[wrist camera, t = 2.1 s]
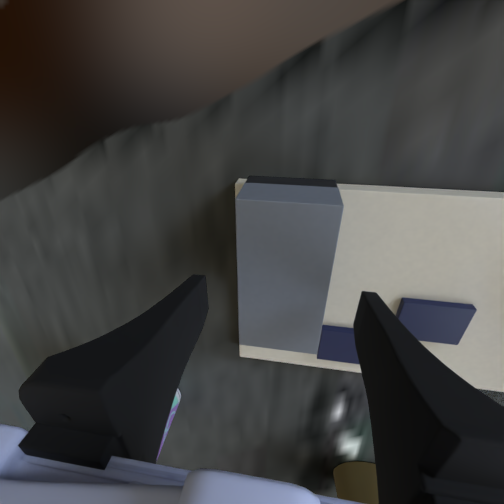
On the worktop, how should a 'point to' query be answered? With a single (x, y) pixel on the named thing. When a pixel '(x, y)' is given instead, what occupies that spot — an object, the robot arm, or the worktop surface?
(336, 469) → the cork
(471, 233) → the memo board
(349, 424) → the worktop surface
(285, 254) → the eraser
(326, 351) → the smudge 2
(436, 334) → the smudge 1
